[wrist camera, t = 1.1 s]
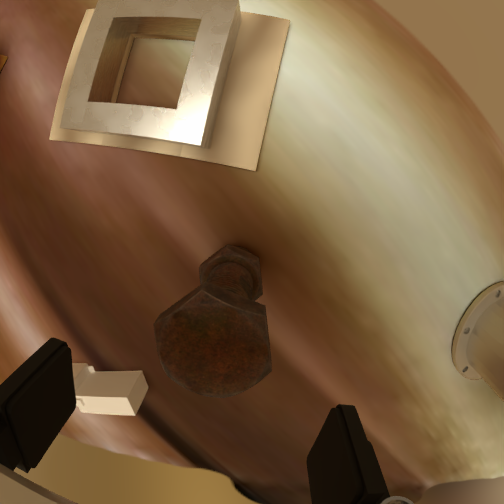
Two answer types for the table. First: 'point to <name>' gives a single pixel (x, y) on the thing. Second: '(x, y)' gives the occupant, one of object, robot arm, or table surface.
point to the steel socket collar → (195, 82)
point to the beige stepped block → (108, 390)
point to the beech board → (231, 105)
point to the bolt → (218, 328)
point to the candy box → (2, 61)
